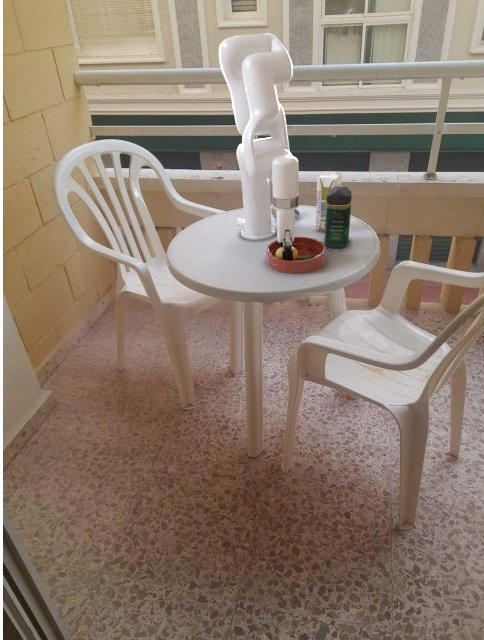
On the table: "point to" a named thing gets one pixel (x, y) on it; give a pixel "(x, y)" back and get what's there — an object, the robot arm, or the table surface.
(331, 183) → the juice carton
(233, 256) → the table surface
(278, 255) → the tulip
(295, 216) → the ceramic mug
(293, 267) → the bowl
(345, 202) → the coffee jar
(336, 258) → the table surface
